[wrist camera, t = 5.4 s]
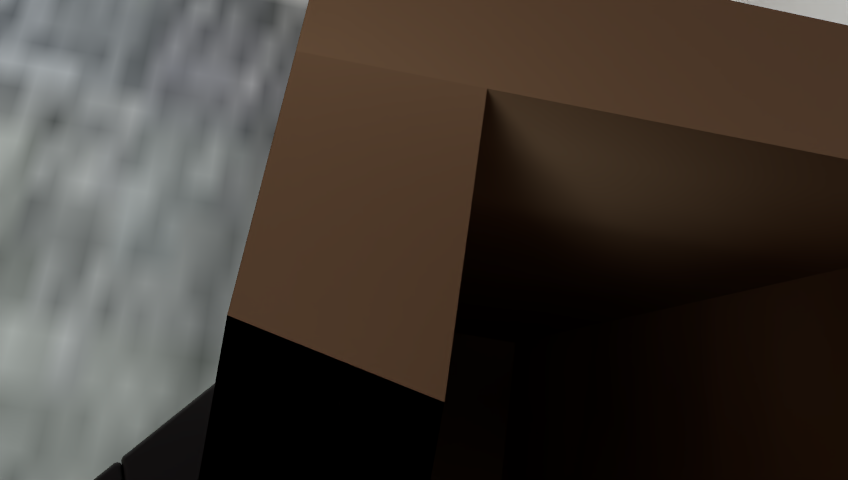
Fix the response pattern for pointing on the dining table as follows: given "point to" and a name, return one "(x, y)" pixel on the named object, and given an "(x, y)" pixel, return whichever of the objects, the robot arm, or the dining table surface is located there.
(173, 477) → the robot arm
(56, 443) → the dining table surface
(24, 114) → the dining table surface
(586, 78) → the walnut crate
